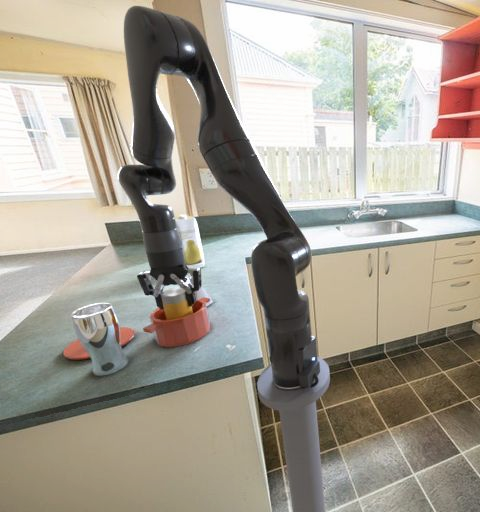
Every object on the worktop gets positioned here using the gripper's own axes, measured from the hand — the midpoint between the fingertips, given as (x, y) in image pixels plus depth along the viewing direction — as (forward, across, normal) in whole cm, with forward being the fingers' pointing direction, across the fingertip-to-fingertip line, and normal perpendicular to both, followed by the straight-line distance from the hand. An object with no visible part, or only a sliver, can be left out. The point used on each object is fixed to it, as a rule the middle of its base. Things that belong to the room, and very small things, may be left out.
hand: (177, 306), depth 80 cm
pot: (+9, 0, 0) cm, 9 cm away
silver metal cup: (+9, -11, -12) cm, 18 cm away
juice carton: (+9, -16, +59) cm, 61 cm away
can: (+5, 0, 0) cm, 5 cm away
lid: (+8, -19, -1) cm, 20 cm away
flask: (+9, -1, +18) cm, 20 cm away
